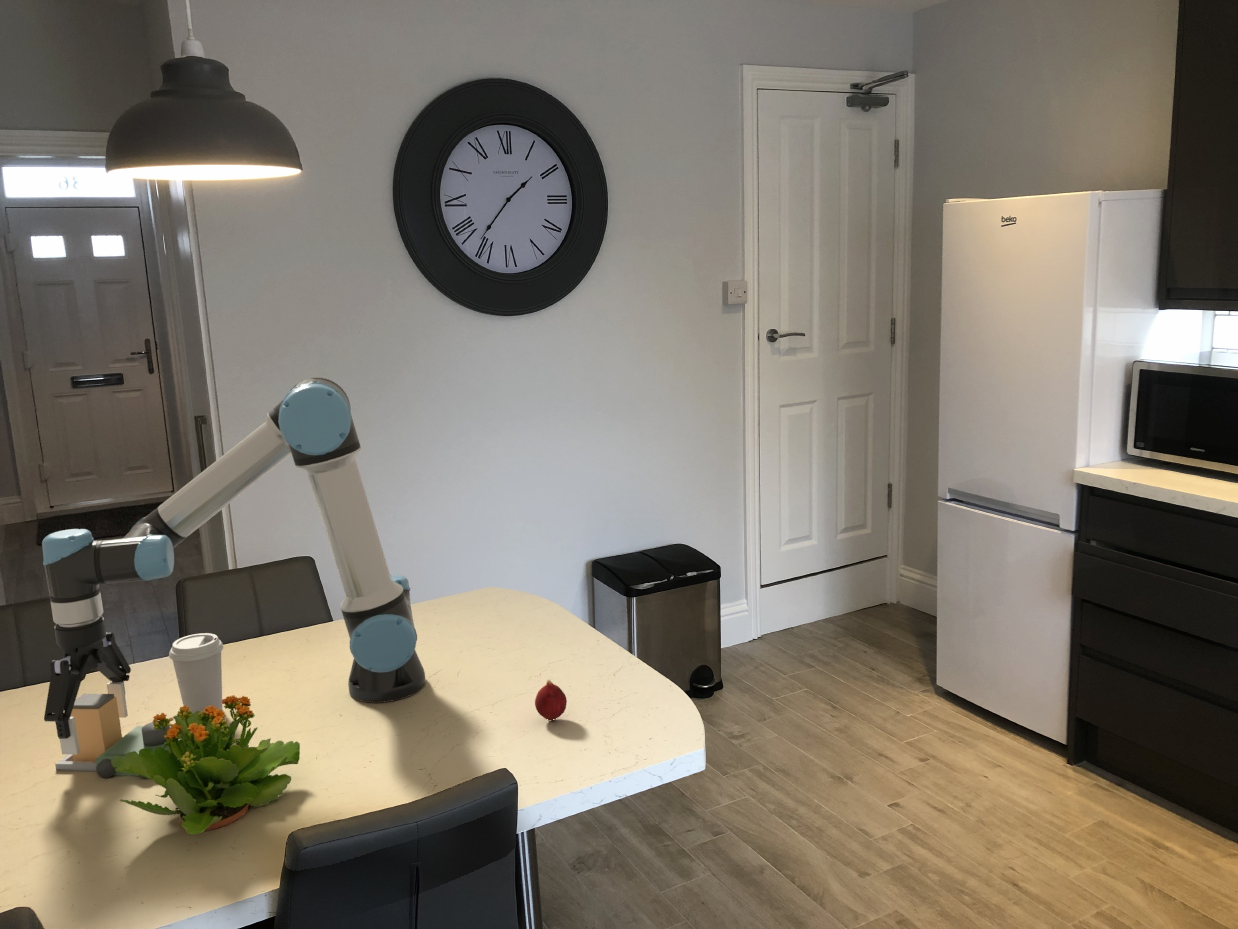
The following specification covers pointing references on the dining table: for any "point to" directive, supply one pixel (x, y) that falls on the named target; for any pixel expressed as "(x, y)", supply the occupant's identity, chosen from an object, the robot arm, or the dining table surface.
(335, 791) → the dining table surface
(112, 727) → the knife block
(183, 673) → the coffee cup
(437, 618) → the dining table surface
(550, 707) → the onion
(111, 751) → the wheeled tray
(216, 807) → the potted flower
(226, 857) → the dining table surface
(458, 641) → the dining table surface
